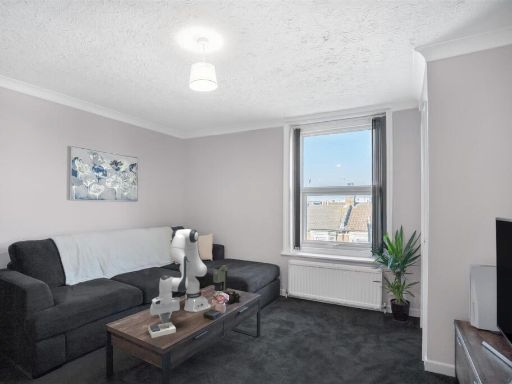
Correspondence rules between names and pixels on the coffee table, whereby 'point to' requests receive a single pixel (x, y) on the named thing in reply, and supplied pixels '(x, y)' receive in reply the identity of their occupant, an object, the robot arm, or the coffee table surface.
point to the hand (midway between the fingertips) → (165, 318)
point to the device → (220, 278)
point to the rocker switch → (165, 318)
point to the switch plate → (161, 329)
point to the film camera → (233, 297)
